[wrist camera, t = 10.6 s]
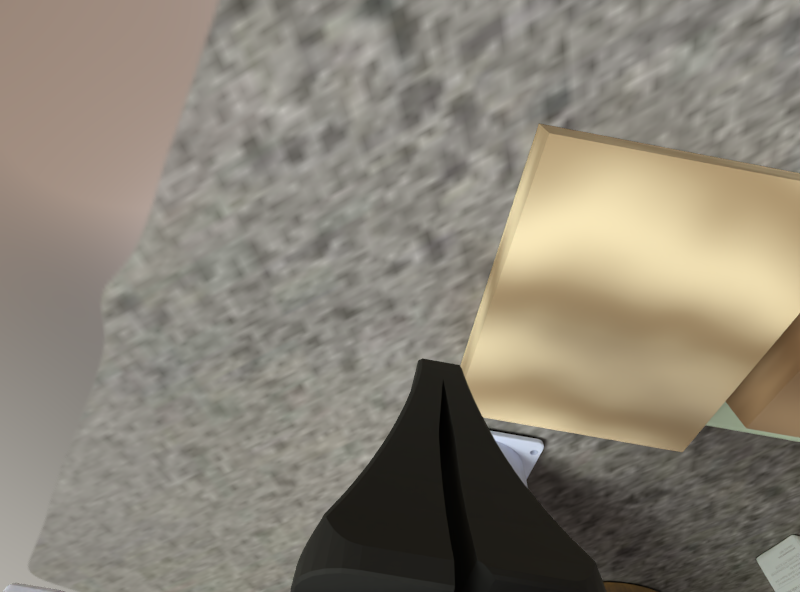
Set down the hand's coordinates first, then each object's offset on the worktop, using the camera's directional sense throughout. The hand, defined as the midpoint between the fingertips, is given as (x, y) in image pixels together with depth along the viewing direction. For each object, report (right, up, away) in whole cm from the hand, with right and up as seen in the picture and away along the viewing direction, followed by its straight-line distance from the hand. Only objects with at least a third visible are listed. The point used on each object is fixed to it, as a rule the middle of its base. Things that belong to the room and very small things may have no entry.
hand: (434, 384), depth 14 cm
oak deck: (+10, +2, +9) cm, 14 cm away
